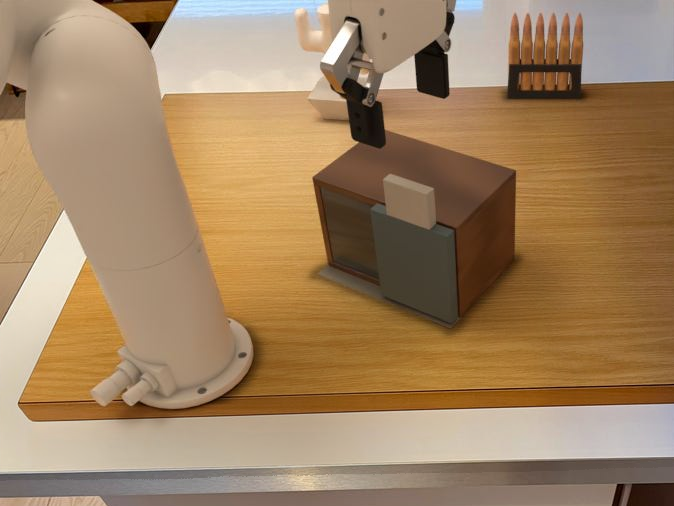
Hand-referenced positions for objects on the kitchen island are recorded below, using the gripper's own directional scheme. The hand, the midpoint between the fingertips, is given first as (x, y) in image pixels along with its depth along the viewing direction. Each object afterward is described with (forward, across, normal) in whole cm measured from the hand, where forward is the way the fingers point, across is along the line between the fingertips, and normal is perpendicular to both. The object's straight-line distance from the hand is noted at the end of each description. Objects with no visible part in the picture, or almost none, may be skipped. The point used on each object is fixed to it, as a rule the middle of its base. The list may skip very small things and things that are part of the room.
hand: (402, 117), depth 71 cm
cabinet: (+22, -7, -4) cm, 24 cm away
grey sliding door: (+22, 0, 0) cm, 22 cm away
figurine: (+22, -30, -33) cm, 50 cm away
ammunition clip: (+22, -48, -11) cm, 54 cm away
